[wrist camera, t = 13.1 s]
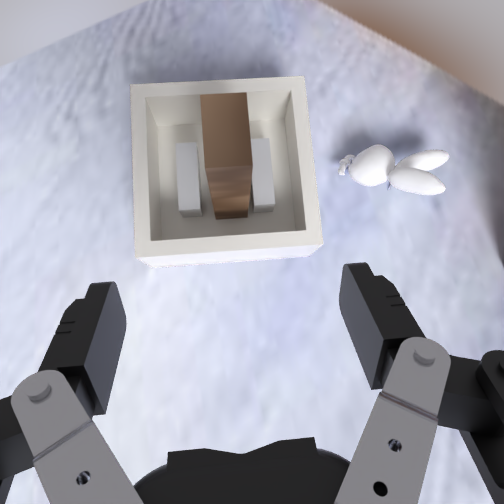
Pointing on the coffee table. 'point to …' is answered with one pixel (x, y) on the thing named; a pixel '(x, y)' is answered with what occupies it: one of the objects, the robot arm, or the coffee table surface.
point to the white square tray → (196, 185)
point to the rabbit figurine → (396, 169)
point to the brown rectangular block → (227, 152)
